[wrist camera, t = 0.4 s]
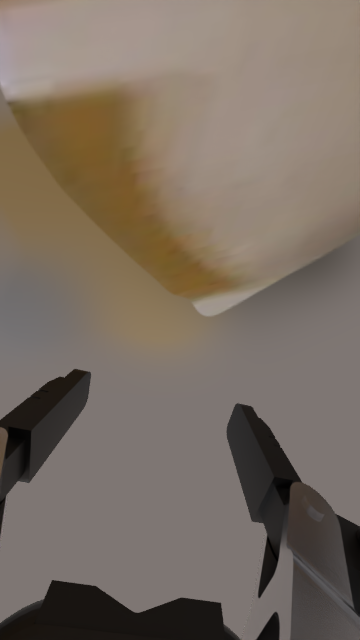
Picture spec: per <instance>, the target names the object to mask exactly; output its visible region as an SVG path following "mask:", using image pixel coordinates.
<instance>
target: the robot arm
mask: <svg viewBox="0 0 360 640" xmlns="http://www.w3.org/2000/svg"><path fill="white" fill-rule="evenodd" d="M90 378H91V373H90V372H87V371H83V370H78V369H74V370H73V371H72V372H70V373H69V374H68V375H67V376H66V377H65V378H64V377H58V378H56V379H54V380H52V381H49V382H48V383H47V384H45V385H44V386H42V387H41V388H40V389H39V390H38V391H36V392H35V393H34V394H32V395H31V397H30V398H27V399H26V400H25V401H24V402H23V403H21V404H20V405H19V406H17V407H16V408H15V409H14V410H12V411H11V412H10V413H9V414H7V415H6V416H5V417H3V418H2V419H1V420H0V547H1V539H2V533H3V526H4V518H5V511H6V504H7V497H8V495H7V494H8V493H9V491H10V490H11V489H12V487H13V486H14V485H15V484H16V482H17V481H21V482H27V483H29V482H30V481H31V480H32V478H33V477H34V476H35V474H36V473H37V472H38V470H39V469H40V467H41V466H42V465H43V463H44V462H45V461H46V459H47V458H48V457H49V455H50V454H51V452H52V451H53V449H54V448H55V447H56V446H57V444H58V443H59V441H60V440H61V439H62V437H63V436H64V435H65V433H66V432H67V430H68V429H69V428H70V426H71V425H72V424H73V422H74V421H75V420H76V418H77V417H78V416H79V414H80V413H81V411H82V410H83V408H84V407H85V405H86V402H87V399H88V394H89V386H90ZM227 439H228V442H229V446H230V449H231V452H232V456H233V459H234V463H235V466H236V469H237V473H238V476H239V479H240V483H241V486H242V489H243V493H244V496H245V499H246V503H247V506H248V509H249V513H250V516H251V520H252V521H253V522H259V523H264V526H265V529H266V533H265V535H264V538H263V544H262V550H261V555H260V561H259V567H258V572H257V578H256V584H255V590H254V595H253V601H252V605H251V609H250V612H249V615H248V618H247V621H246V624H245V627H244V631H243V635H242V639H241V640H360V526H357V525H356V524H354V523H352V522H350V521H348V520H346V519H344V518H343V517H341V516H339V515H337V514H335V512H334V511H333V509H332V508H331V506H330V505H329V504H328V503H327V501H326V500H325V499H324V498H323V497H322V496H321V495H320V494H319V493H318V492H317V491H315V490H314V489H313V488H311V487H310V486H308V485H306V484H304V483H302V481H301V480H300V478H299V476H298V475H297V473H296V471H295V470H294V468H293V466H292V465H291V463H290V461H289V460H288V458H287V456H286V455H285V453H284V451H283V450H282V448H280V445H279V443H278V441H277V440H276V439H275V436H274V435H273V433H272V431H271V430H270V428H269V427H268V426H267V425H266V424H265V423H264V422H263V420H262V419H261V418H258V416H257V414H256V413H255V411H254V410H253V408H252V407H251V406H248V405H243V404H236V405H235V407H234V410H233V412H232V415H231V418H230V420H229V423H228V426H227ZM0 640H240V639H239V637H238V636H237V635H236V634H235V633H233V632H232V631H231V630H230V629H229V628H228V627H227V626H225V625H224V624H223V616H222V608H221V603H217V602H210V601H203V600H195V599H188V598H179V599H176V600H174V601H171V602H168V603H165V604H163V605H160V606H157V607H154V608H152V609H149V610H146V611H143V612H140V613H135V612H133V611H131V610H129V609H128V608H127V607H125V606H124V605H122V604H121V603H119V602H118V601H116V600H115V599H114V598H112V597H111V596H109V595H108V594H106V593H105V592H103V591H102V590H100V589H99V588H98V587H96V586H91V585H83V584H76V583H69V582H62V581H54V580H52V582H51V584H50V587H49V589H48V592H47V594H46V596H45V599H43V600H41V601H37V602H35V603H33V604H31V605H29V606H27V607H24V608H22V609H21V610H19V611H17V612H16V613H14V614H13V615H11V616H10V617H8V618H7V619H5V620H4V621H2V622H1V623H0Z"/></svg>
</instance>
